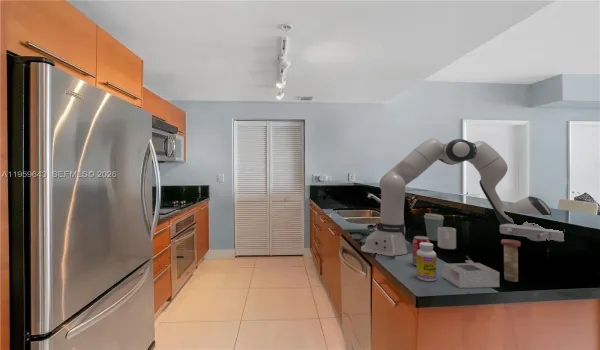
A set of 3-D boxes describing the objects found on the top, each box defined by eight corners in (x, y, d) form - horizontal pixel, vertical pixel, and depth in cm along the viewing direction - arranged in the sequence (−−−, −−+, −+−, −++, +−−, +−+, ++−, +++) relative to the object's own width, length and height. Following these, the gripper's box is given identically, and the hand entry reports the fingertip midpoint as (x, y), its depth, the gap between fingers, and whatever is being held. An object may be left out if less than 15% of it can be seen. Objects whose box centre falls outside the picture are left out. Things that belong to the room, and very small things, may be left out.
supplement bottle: (422, 282, 98) (421, 246, 98) (413, 275, 105) (413, 241, 105) (440, 281, 99) (439, 245, 99) (430, 275, 105) (429, 241, 106)
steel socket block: (459, 288, 93) (459, 273, 93) (442, 277, 103) (442, 263, 103) (499, 286, 94) (499, 272, 94) (479, 276, 104) (479, 262, 104)
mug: (437, 244, 151) (437, 226, 151) (455, 246, 148) (455, 227, 148) (438, 250, 140) (438, 230, 140) (458, 251, 137) (457, 231, 137)
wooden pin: (503, 281, 99) (502, 242, 99) (500, 275, 104) (499, 238, 104) (523, 283, 96) (522, 243, 96) (518, 278, 101) (518, 240, 101)
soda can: (433, 265, 116) (433, 237, 116) (427, 269, 111) (426, 240, 111) (416, 262, 121) (416, 234, 121) (409, 265, 116) (409, 237, 116)
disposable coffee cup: (437, 237, 168) (437, 212, 168) (448, 241, 158) (448, 215, 158) (420, 237, 168) (420, 212, 168) (430, 241, 157) (430, 215, 157)
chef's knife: (472, 271, 111) (481, 271, 110) (472, 268, 111) (481, 268, 110) (460, 257, 129) (467, 257, 128) (460, 254, 129) (467, 254, 128)
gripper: (506, 219, 123) (492, 222, 115) (568, 225, 106) (558, 230, 99) (506, 233, 123) (493, 238, 115) (569, 241, 106) (558, 247, 99)
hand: (523, 234), depth 107 cm, fingers open, 8 cm apart
